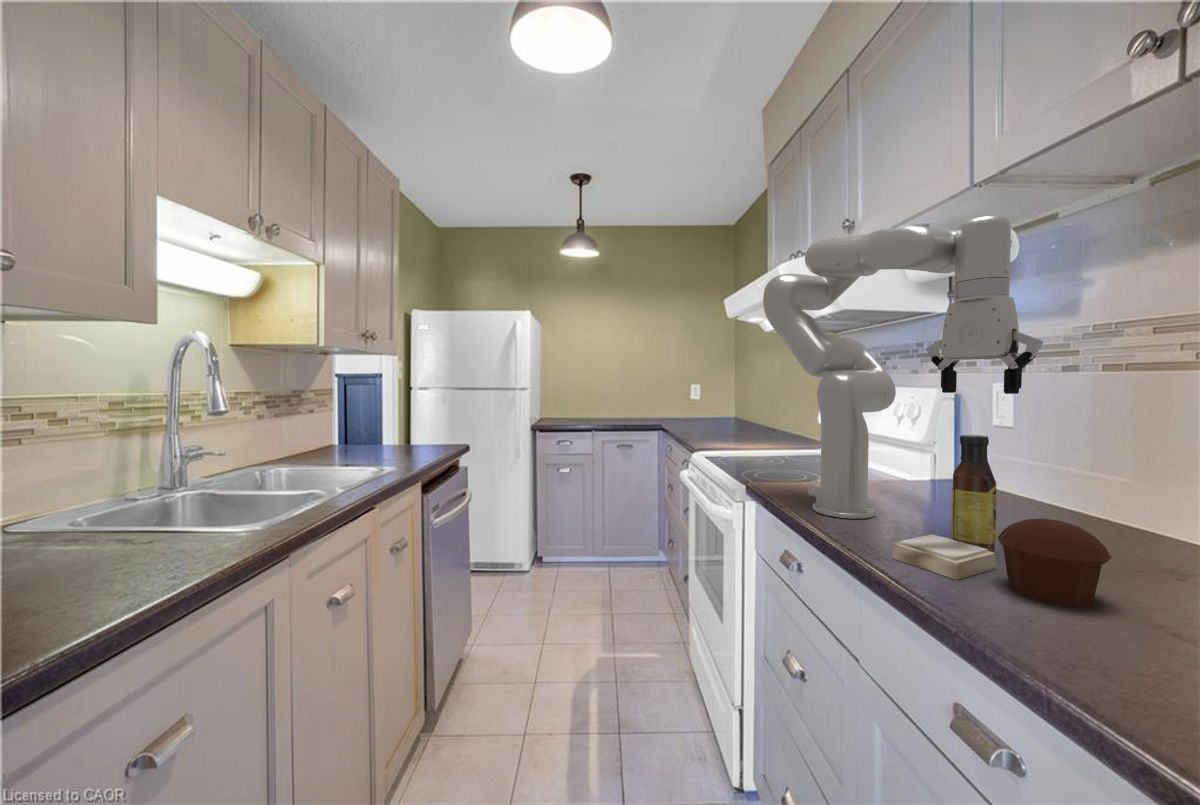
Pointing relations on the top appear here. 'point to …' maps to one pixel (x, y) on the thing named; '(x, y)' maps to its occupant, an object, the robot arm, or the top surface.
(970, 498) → the sauce bottle
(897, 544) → the birch riser
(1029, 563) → the muffin
